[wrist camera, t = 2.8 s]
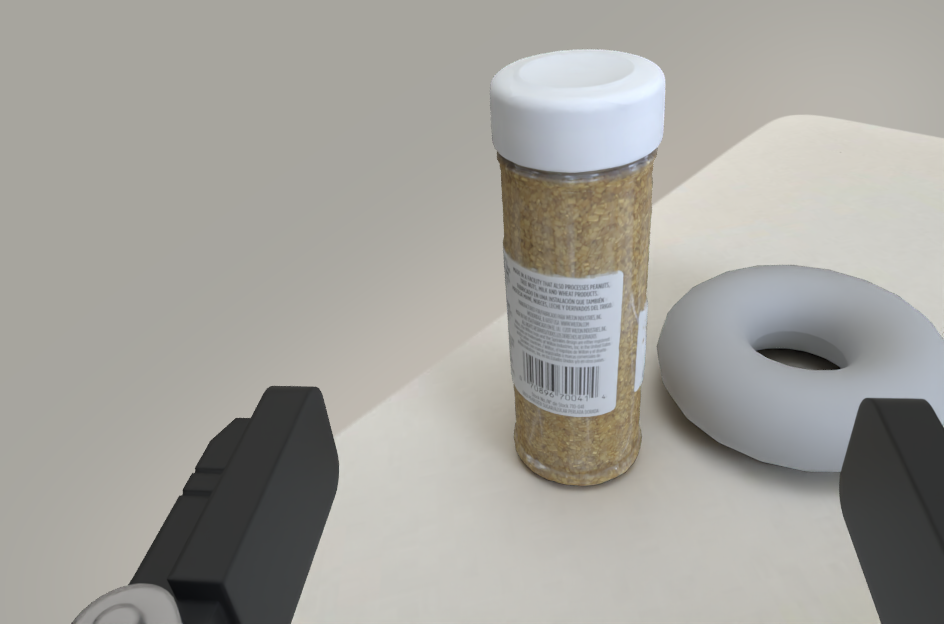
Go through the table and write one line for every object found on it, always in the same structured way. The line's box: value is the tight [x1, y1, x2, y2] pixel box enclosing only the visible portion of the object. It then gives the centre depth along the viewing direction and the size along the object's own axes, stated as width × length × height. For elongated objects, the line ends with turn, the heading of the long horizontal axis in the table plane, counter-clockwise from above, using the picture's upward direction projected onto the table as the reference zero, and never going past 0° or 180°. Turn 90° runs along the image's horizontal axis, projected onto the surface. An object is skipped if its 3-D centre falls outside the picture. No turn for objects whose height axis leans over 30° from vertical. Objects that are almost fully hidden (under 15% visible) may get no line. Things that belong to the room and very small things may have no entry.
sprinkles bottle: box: [490, 49, 665, 486], centre depth 23 cm, size 5×5×13 cm
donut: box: [657, 265, 944, 472], centre depth 27 cm, size 10×4×10 cm
